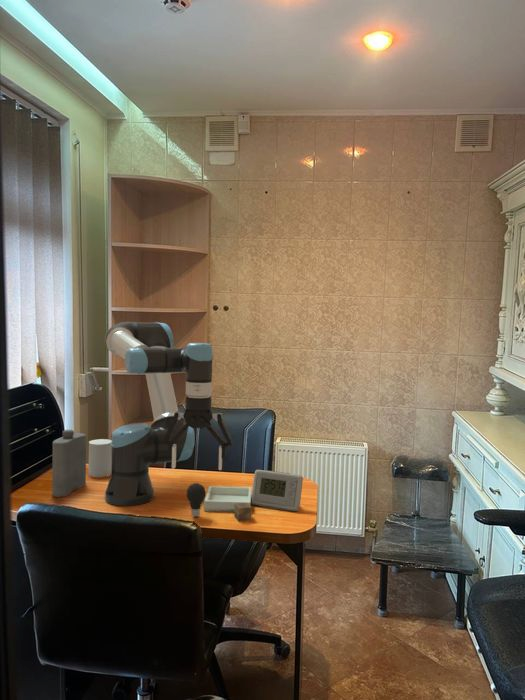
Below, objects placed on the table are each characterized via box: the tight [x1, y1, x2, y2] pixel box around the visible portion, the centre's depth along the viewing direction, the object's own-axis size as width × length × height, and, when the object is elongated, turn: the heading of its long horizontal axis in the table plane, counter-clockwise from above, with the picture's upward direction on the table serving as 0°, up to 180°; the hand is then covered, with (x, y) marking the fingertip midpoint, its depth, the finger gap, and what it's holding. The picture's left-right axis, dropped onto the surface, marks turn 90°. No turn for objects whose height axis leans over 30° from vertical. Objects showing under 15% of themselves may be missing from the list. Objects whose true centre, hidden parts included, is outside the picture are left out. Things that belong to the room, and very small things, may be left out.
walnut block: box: [233, 503, 253, 523], centre depth 153 cm, size 4×4×4 cm
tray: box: [203, 485, 252, 513], centre depth 165 cm, size 14×14×3 cm
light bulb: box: [185, 482, 207, 518], centre depth 153 cm, size 6×6×10 cm
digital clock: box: [251, 469, 304, 512], centre depth 164 cm, size 16×9×11 cm, turn 60°
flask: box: [51, 429, 87, 498], centre depth 173 cm, size 15×6×20 cm, turn 167°
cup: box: [88, 438, 112, 478], centre depth 191 cm, size 8×8×12 cm
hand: (197, 468), depth 152 cm, fingers open, 13 cm apart
